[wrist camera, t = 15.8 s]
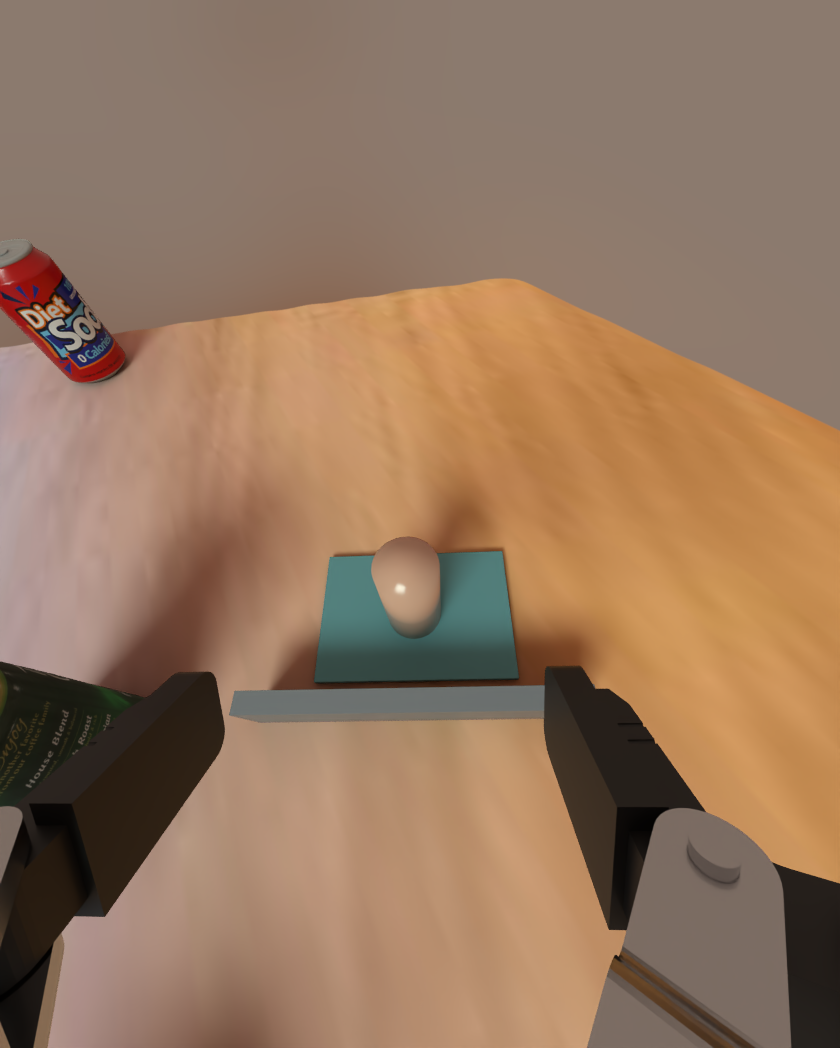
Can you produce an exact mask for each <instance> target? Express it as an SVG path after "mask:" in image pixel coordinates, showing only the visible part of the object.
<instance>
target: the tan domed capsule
mask: <svg viewBox="0 0 840 1048" xmlns="http://www.w3.org/2000/svg"><path fill="white" fill-rule="evenodd" d="M371 573H372V577H373V580H374V583H375V585H376V588H377V591H378V593H379V596H380V599H381V601H382V604H383V606H384V609H385V612H386V614H387V617H388V619H389V622H390V624H391V626H392V628H393V629H394V630H395V631H396V632H397V633H398V634H399V635H401V636H403V637H405V638H409V639H418V638H423V637H425V636H427V635H429V634H430V633H431V632H433V631H434V630H435V628H436V627H437V625H438V623H439V621H440V617H441V597H440V563H439V559H438V556H437V554H436V552H435V550H434V549H433V548H432V547H431V546H430V545H429V544H428V543H427V542H425V541H423V540H421V539H418V538H415V537H399V538H395V539H393V540H391V541H389V542H387V543H385V544H384V545H383V546H382V547H381V548H380V549H379V550H378V551H377V553H376V554H375V556H374V558H373V561H372V566H371Z"/></svg>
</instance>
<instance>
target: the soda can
mask: <svg viewBox="0 0 840 1048" xmlns="http://www.w3.org/2000/svg"><path fill="white" fill-rule="evenodd" d="M0 309H1V310H2V311H3V312H4V313H5V314H6V315H7V316H8V317H9V318H10V319H11V320H12V321H13V322H14V323H15V324H16V325H17V326H18V327H19V328H20V329H21V330H22V331H23V332H24V333H25V334H26V335H27V336H28V337H29V338H30V339H31V340H32V342H33V343H34V344H35V345H36V346H37V347H38V348H39V349H40V350H41V351H42V352H43V353H44V354H45V355H46V356H47V357H48V358H49V359H50V360H51V361H52V362H53V363H54V364H55V365H56V366H57V367H58V368H59V369H60V370H61V371H62V372H63V373H64V374H65V375H66V376H67V377H68V378H69V379H70V380H72V381H75V382H78V383H93V382H99V381H103V380H105V379H108V378H110V377H111V376H113V375H114V374H116V373H117V372H118V371H119V369H120V368H121V366H122V365H123V363H124V361H125V353H124V351H123V350H122V348H121V347H120V346H119V344H118V343H117V342H116V341H115V339H114V338H113V337H112V335H111V334H110V333H109V332H108V330H107V329H106V328H105V326H104V325H103V324H102V323H101V321H100V320H99V319H98V318H97V316H96V315H95V314H94V312H93V311H92V310H91V309H90V307H89V306H88V305H87V303H86V302H85V301H84V300H83V298H82V297H81V296H80V294H79V293H78V292H77V291H76V289H75V288H74V287H73V286H72V284H71V283H70V282H69V280H68V279H67V278H66V277H65V275H64V274H63V273H62V272H61V270H60V269H59V268H58V266H57V265H56V264H55V262H54V261H53V260H52V259H51V258H50V257H49V256H48V255H47V254H46V253H44V252H42V251H40V250H38V249H36V248H35V247H33V245H32V244H31V242H30V241H28V240H24V239H13V240H6V241H2V242H0Z"/></svg>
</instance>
